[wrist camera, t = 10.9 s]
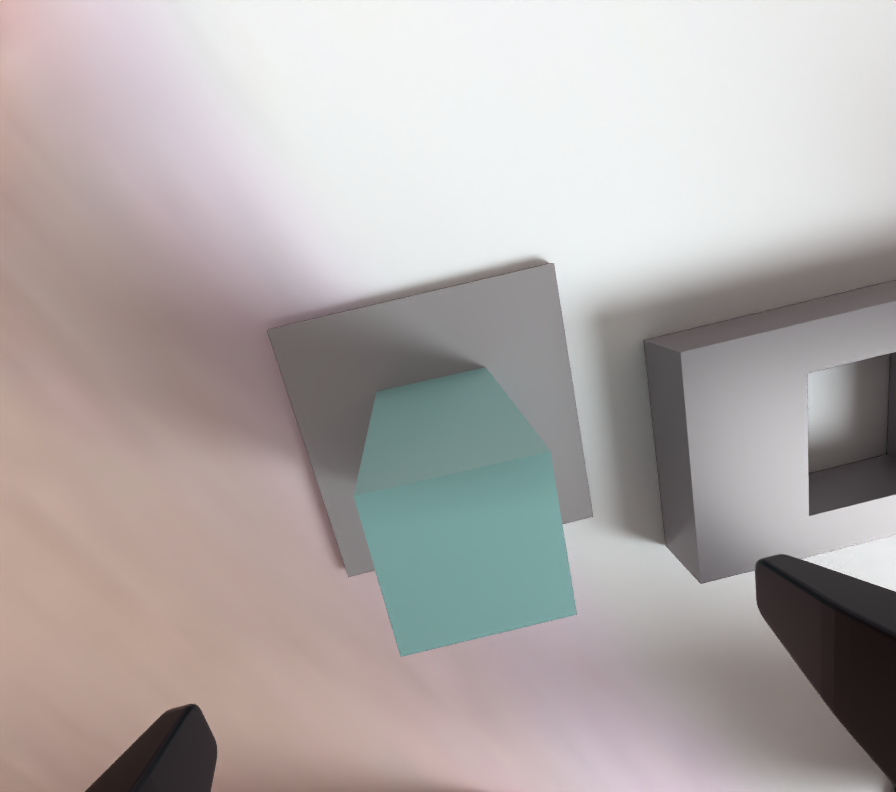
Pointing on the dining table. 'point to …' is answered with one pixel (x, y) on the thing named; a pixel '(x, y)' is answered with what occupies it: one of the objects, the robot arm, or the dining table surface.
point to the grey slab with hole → (766, 434)
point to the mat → (424, 358)
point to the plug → (460, 513)
